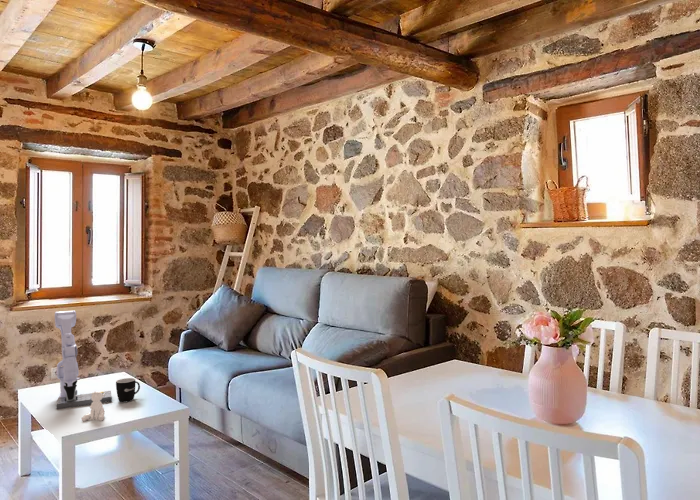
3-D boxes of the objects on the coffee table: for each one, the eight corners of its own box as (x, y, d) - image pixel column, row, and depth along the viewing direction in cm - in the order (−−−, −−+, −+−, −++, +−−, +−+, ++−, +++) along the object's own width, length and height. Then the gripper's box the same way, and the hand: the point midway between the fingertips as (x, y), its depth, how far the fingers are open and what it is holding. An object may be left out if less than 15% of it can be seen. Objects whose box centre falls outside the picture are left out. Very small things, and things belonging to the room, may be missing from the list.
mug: (122, 404, 257) (122, 383, 257) (112, 401, 263) (112, 381, 263) (145, 398, 267) (144, 378, 267) (135, 395, 272) (134, 375, 272)
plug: (67, 403, 261) (66, 389, 261) (77, 402, 263) (77, 388, 263) (66, 405, 257) (66, 391, 257) (77, 404, 259) (76, 390, 259)
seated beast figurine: (80, 421, 233) (79, 394, 233) (90, 415, 242) (89, 389, 242) (102, 421, 233) (101, 394, 233) (110, 414, 242) (110, 388, 242)
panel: (58, 402, 263) (58, 397, 263) (111, 395, 273) (110, 390, 273) (56, 409, 252) (56, 403, 252) (111, 401, 262) (111, 396, 262)
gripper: (78, 372, 255) (79, 400, 255) (79, 366, 268) (80, 392, 268) (62, 374, 252) (63, 402, 252) (63, 367, 265) (64, 394, 265)
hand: (71, 397), depth 260 cm, fingers open, 7 cm apart
